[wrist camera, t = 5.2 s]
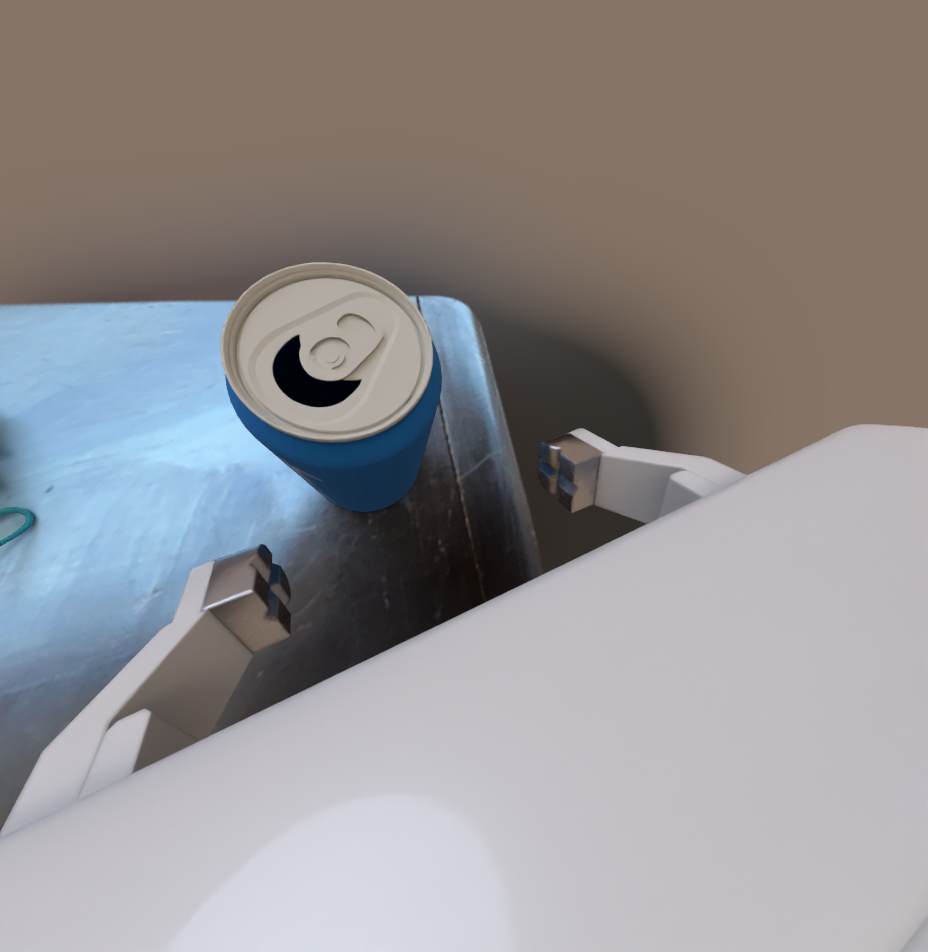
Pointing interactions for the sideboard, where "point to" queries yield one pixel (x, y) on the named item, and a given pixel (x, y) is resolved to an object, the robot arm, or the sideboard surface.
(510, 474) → the sideboard surface
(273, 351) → the beverage can
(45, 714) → the sideboard surface
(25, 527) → the dragon figurine
